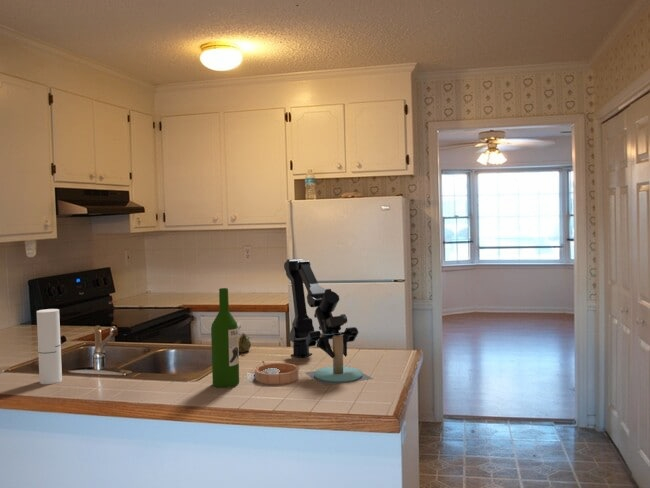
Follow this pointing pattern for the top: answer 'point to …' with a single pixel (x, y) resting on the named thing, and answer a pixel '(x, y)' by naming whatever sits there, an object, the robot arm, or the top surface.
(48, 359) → the cylindrical container
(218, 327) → the wine bottle
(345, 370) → the teal disc with post
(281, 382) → the bowl
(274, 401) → the top surface
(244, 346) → the artichoke
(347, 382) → the mat
